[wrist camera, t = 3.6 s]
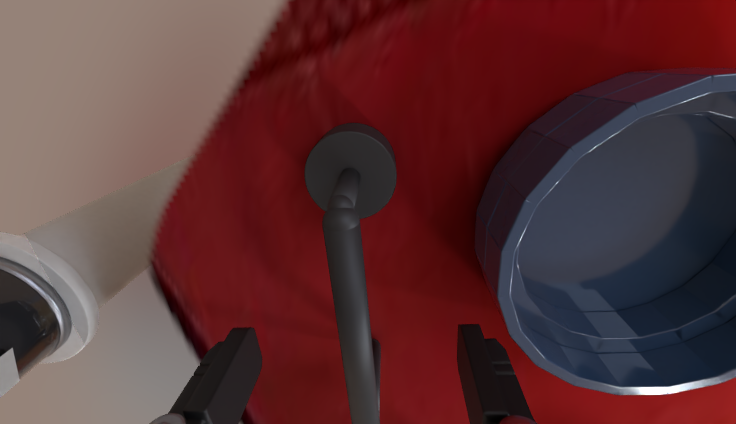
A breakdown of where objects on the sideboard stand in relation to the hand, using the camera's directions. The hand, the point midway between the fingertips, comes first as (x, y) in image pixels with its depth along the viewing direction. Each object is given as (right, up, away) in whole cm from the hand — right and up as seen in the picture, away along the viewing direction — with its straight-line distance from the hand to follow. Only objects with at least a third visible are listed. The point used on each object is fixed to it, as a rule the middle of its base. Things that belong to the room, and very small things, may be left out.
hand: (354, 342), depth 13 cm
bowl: (+14, +5, +5) cm, 16 cm away
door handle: (0, +3, +7) cm, 8 cm away
